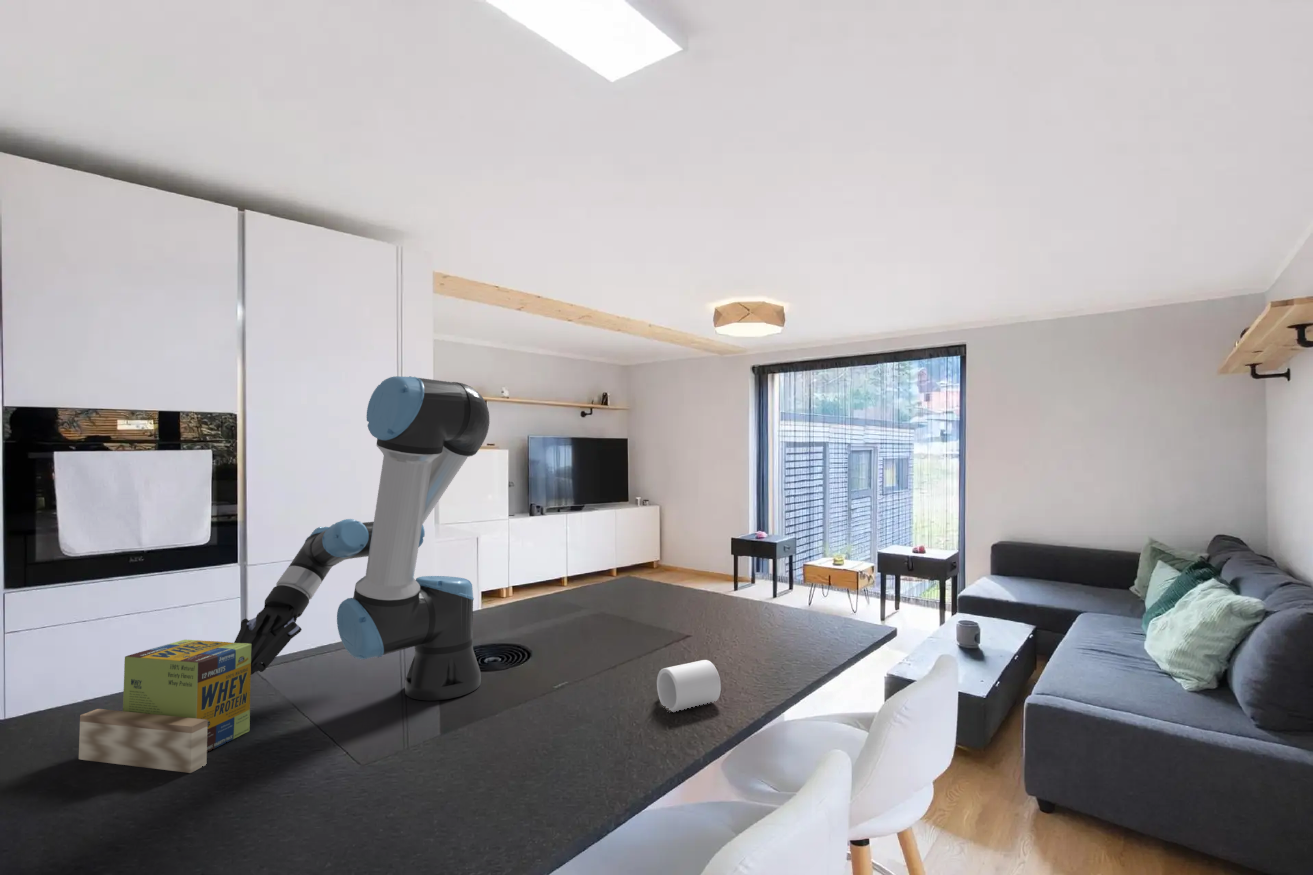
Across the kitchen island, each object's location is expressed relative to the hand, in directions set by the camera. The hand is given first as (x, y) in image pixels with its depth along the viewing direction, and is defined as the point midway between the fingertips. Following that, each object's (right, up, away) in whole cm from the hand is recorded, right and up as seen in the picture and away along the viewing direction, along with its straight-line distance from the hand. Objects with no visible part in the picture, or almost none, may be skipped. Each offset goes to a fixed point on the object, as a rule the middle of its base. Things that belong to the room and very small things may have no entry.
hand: (218, 705), depth 110 cm
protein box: (0, -3, -7) cm, 7 cm away
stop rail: (-2, -3, -14) cm, 14 cm away
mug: (+85, -4, +9) cm, 86 cm away
